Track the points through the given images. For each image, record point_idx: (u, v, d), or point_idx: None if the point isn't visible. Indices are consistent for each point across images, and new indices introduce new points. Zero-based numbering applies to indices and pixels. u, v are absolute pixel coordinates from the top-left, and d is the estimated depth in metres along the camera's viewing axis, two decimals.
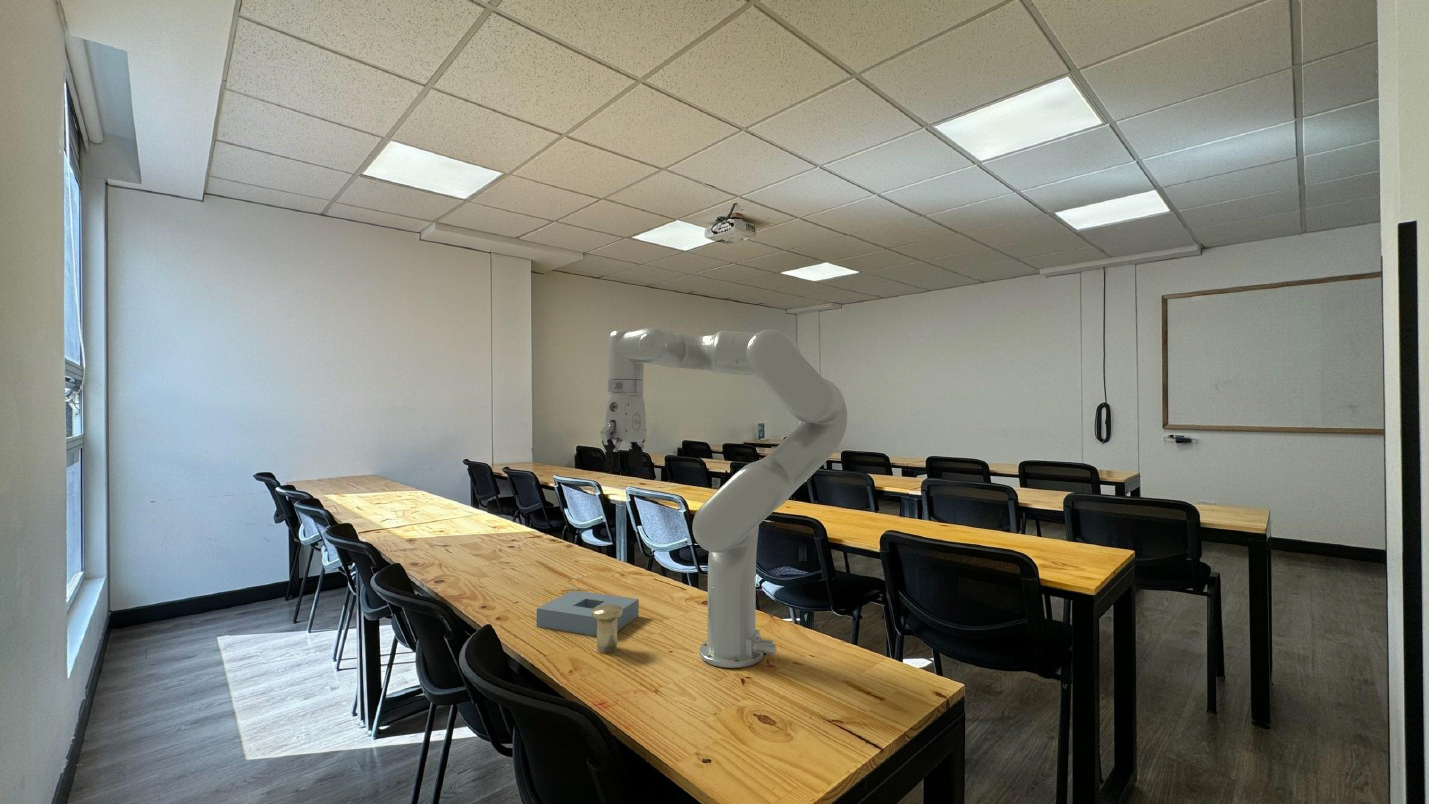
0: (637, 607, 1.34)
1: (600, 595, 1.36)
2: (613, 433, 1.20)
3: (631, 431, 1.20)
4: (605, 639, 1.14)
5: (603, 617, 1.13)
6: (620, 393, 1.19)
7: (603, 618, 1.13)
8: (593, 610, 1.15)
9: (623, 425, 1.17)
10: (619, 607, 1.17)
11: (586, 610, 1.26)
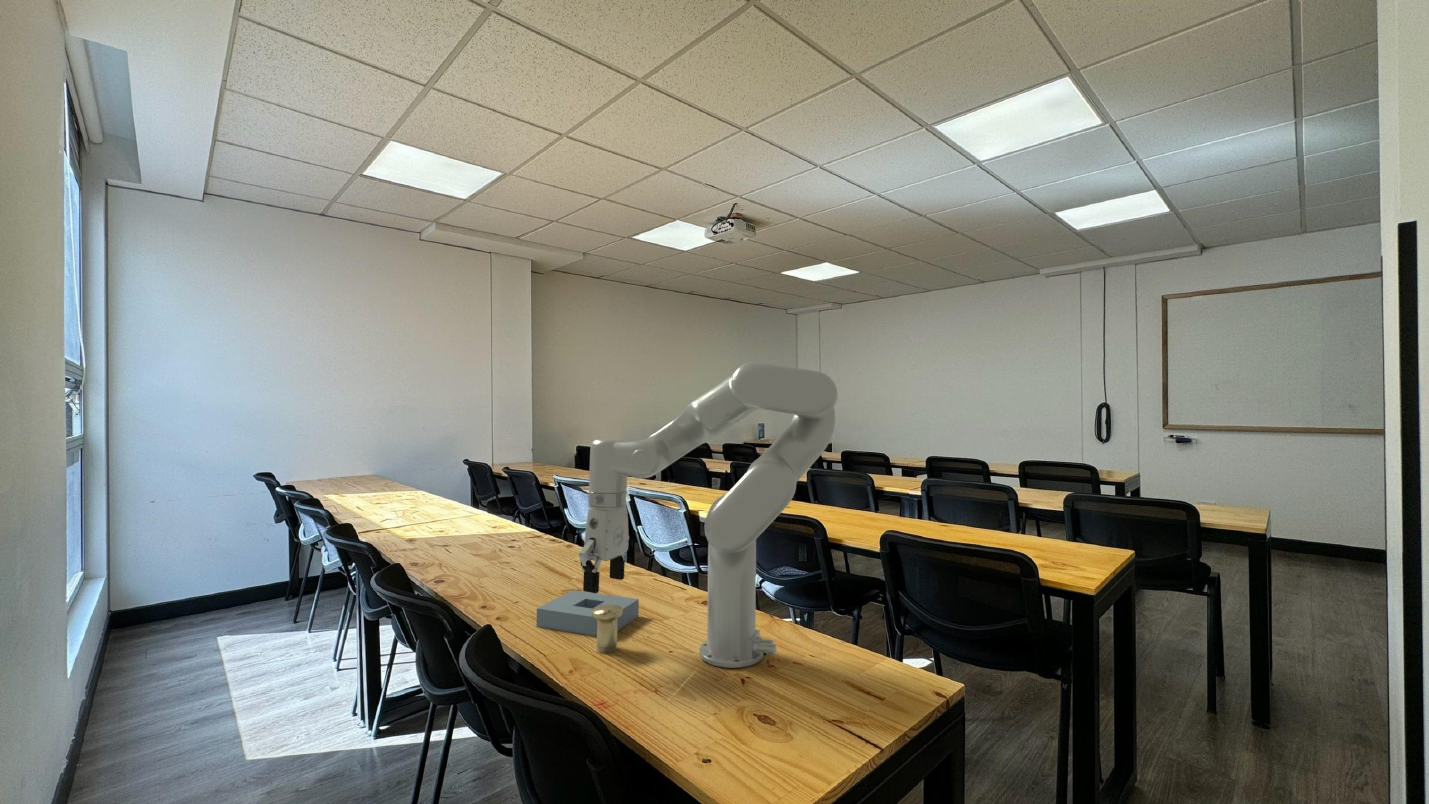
0: (637, 607, 1.34)
1: (600, 595, 1.36)
2: (593, 550, 1.13)
3: (612, 548, 1.13)
4: (605, 639, 1.14)
5: (603, 617, 1.13)
6: (601, 508, 1.12)
7: (603, 618, 1.13)
8: (593, 610, 1.15)
9: (603, 544, 1.11)
10: (619, 607, 1.17)
11: (586, 610, 1.26)
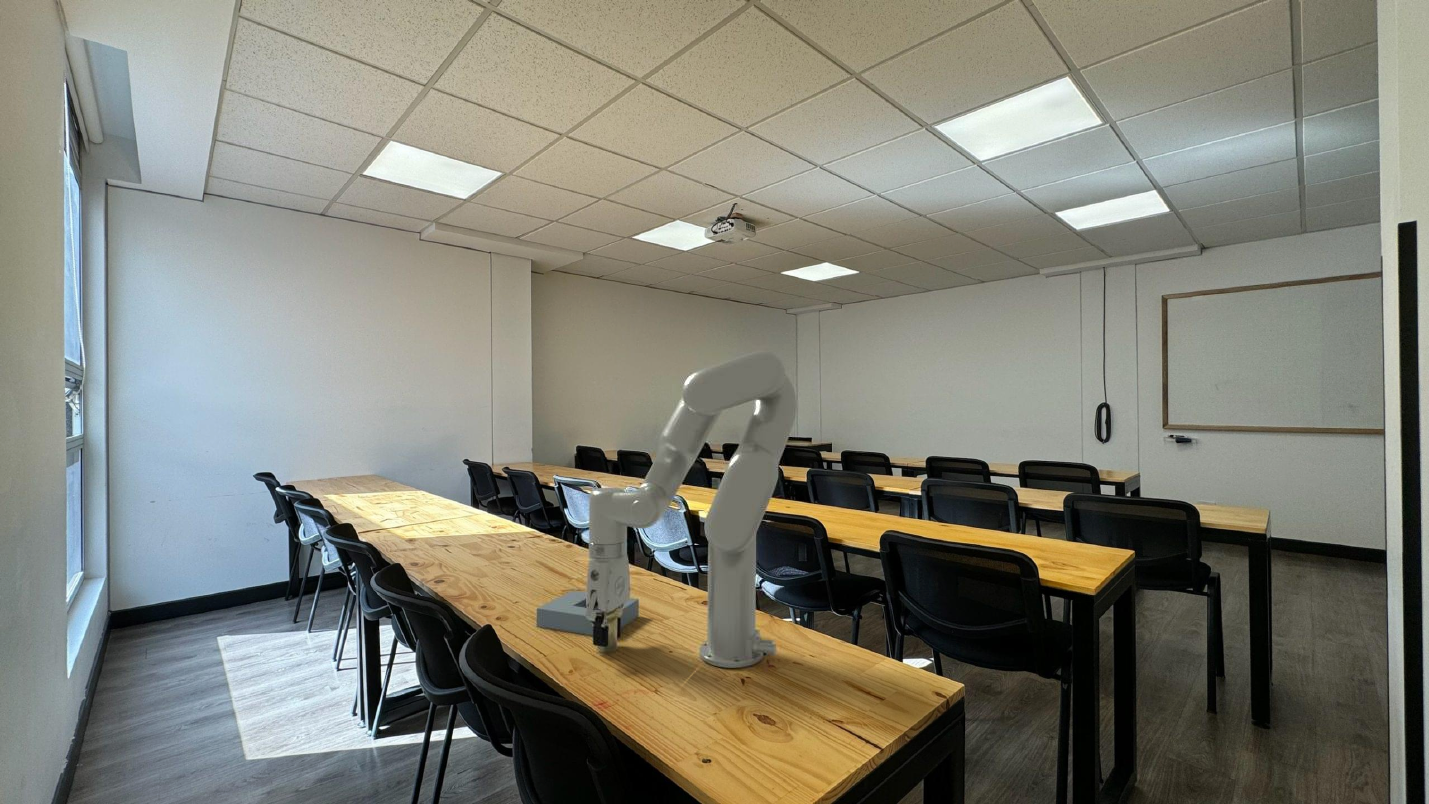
0: (637, 607, 1.34)
1: None
2: None
3: (614, 599, 1.13)
4: None
5: None
6: (602, 559, 1.12)
7: None
8: None
9: (605, 596, 1.10)
10: (618, 607, 1.17)
11: (586, 610, 1.26)
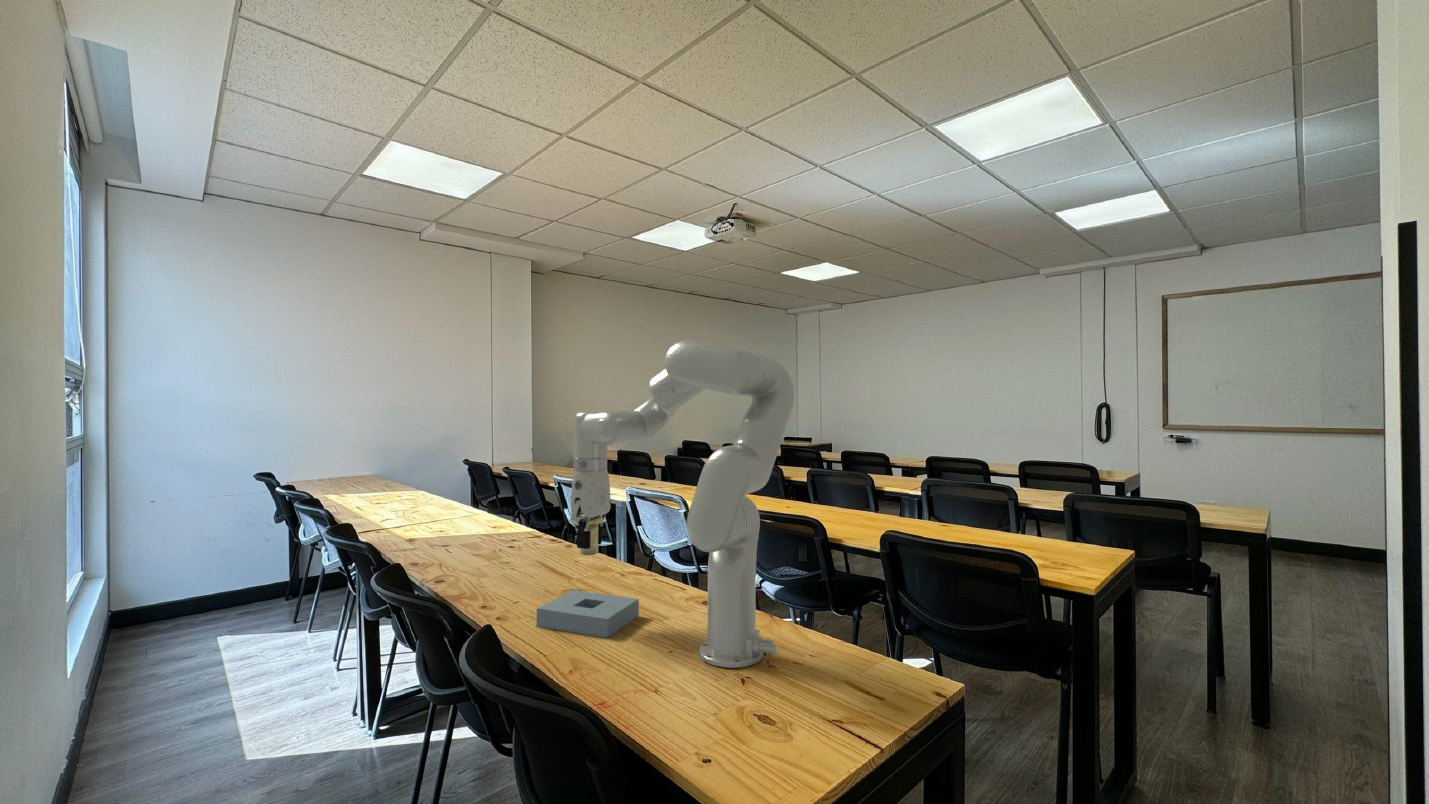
0: (637, 607, 1.34)
1: (600, 595, 1.36)
2: None
3: (595, 507, 1.28)
4: None
5: None
6: (584, 472, 1.28)
7: None
8: None
9: (587, 503, 1.26)
10: (600, 517, 1.32)
11: (586, 610, 1.26)
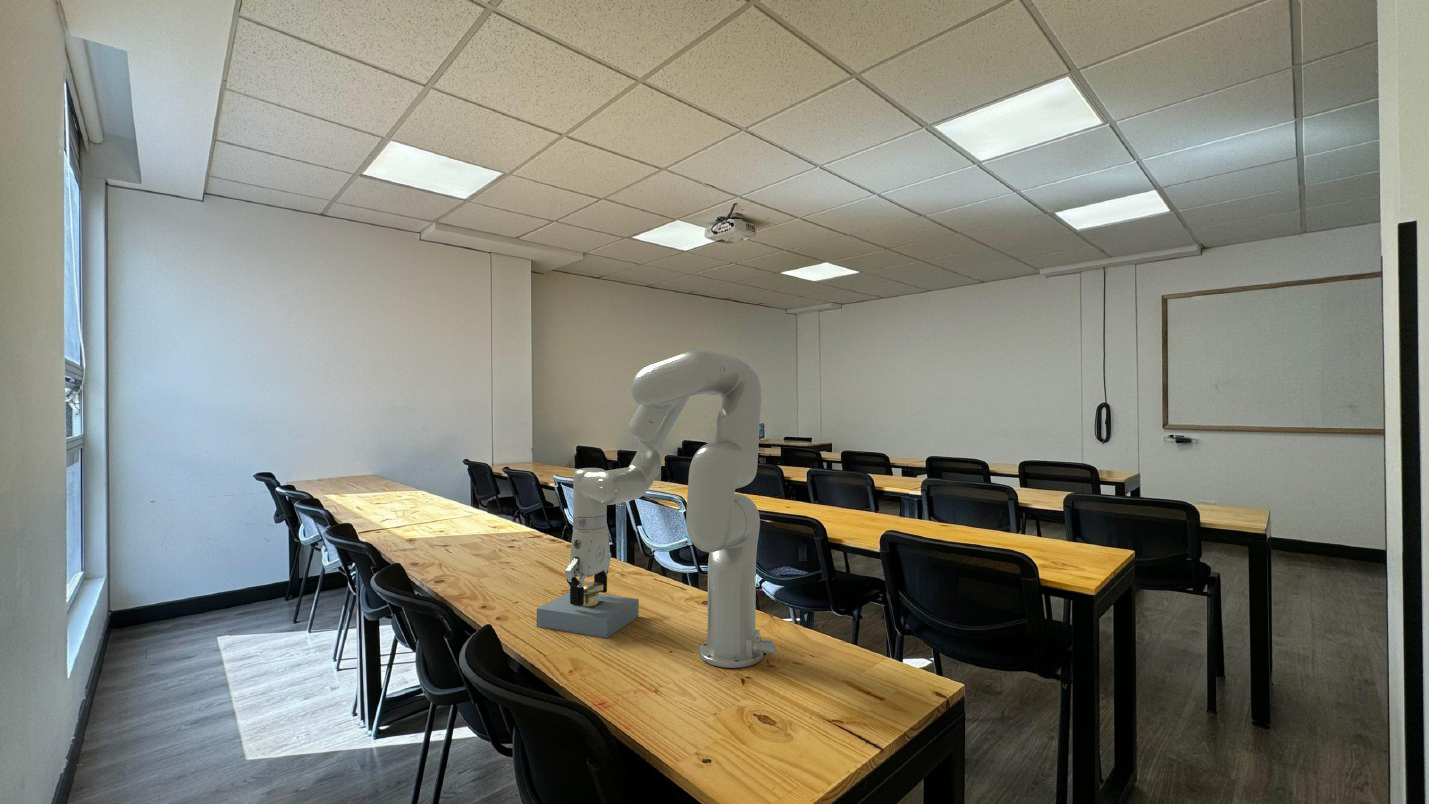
0: (637, 607, 1.34)
1: (600, 595, 1.36)
2: (578, 567, 1.28)
3: (594, 565, 1.28)
4: None
5: (586, 592, 1.28)
6: (584, 530, 1.28)
7: (586, 593, 1.28)
8: None
9: (586, 562, 1.26)
10: (600, 584, 1.32)
11: (586, 610, 1.26)
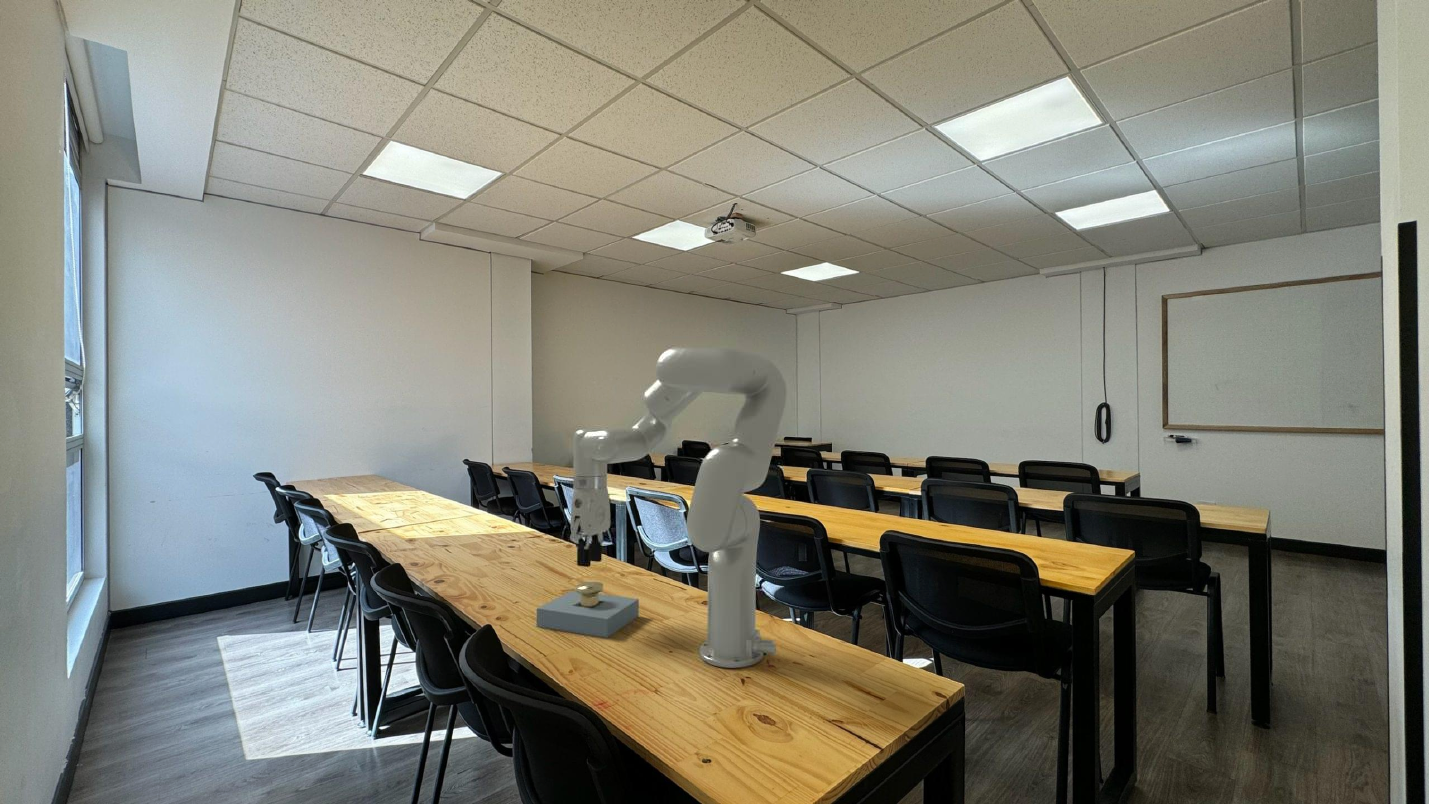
0: (637, 607, 1.34)
1: (600, 595, 1.36)
2: None
3: (595, 525, 1.28)
4: None
5: (585, 592, 1.28)
6: (584, 490, 1.28)
7: (585, 592, 1.28)
8: (577, 586, 1.31)
9: (587, 521, 1.26)
10: (600, 584, 1.32)
11: (586, 610, 1.26)
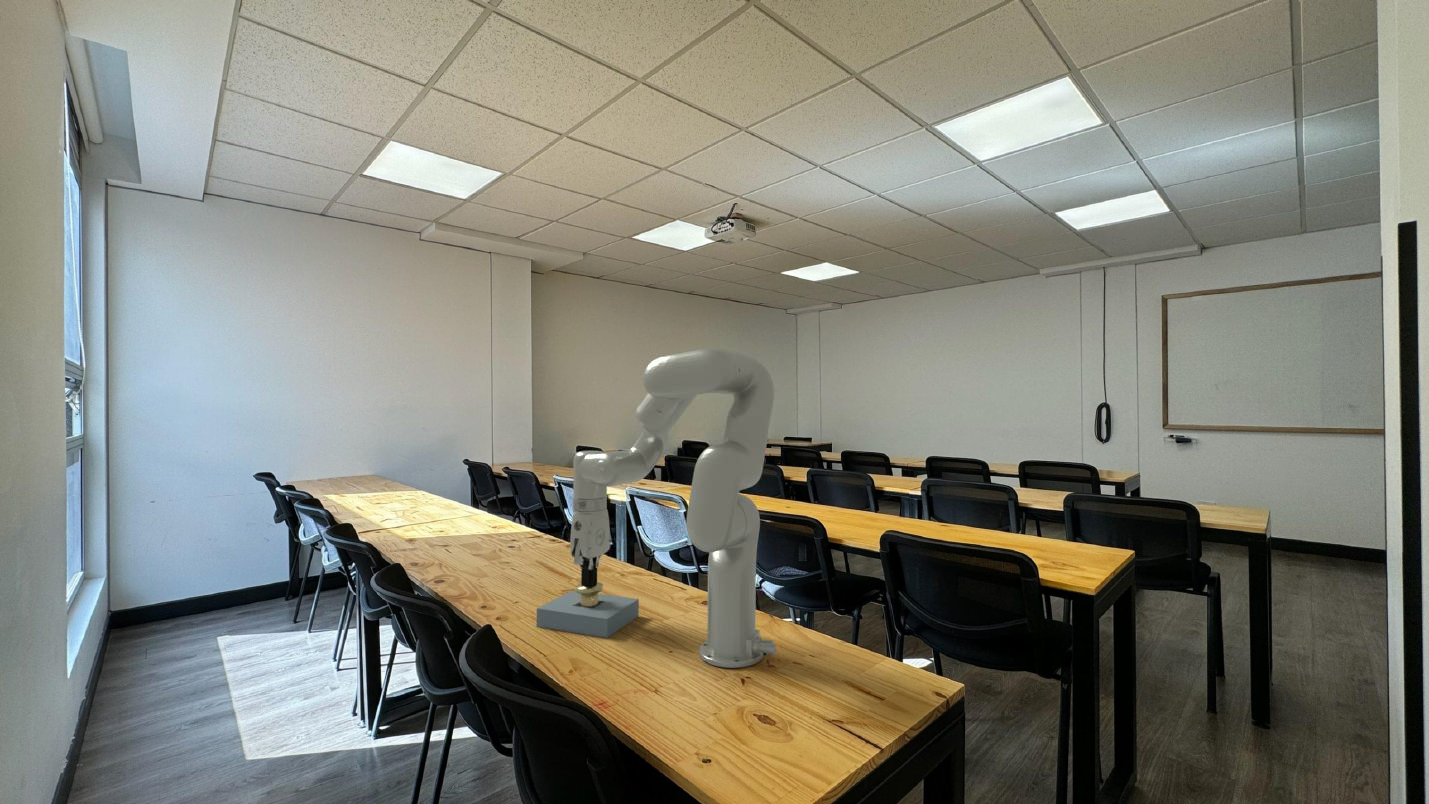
0: (637, 607, 1.34)
1: (600, 595, 1.36)
2: None
3: (595, 547, 1.28)
4: None
5: (585, 592, 1.28)
6: (584, 512, 1.28)
7: (585, 593, 1.28)
8: (577, 586, 1.31)
9: (587, 544, 1.26)
10: (599, 584, 1.32)
11: (586, 610, 1.26)
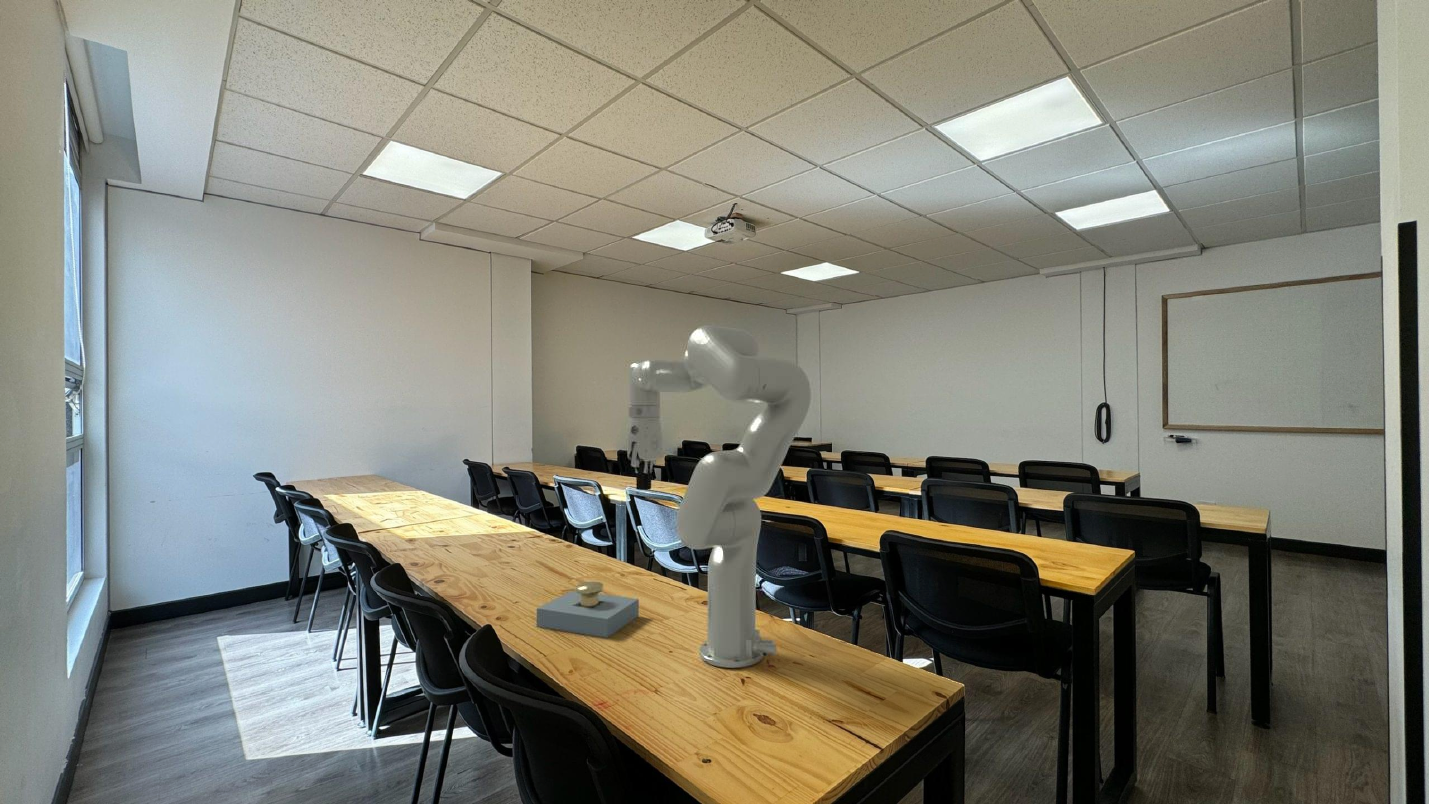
0: (637, 607, 1.34)
1: (600, 595, 1.36)
2: None
3: (650, 451, 1.36)
4: None
5: (586, 592, 1.28)
6: (640, 418, 1.36)
7: (586, 593, 1.28)
8: (577, 586, 1.30)
9: (643, 446, 1.34)
10: (600, 584, 1.32)
11: (586, 610, 1.26)
